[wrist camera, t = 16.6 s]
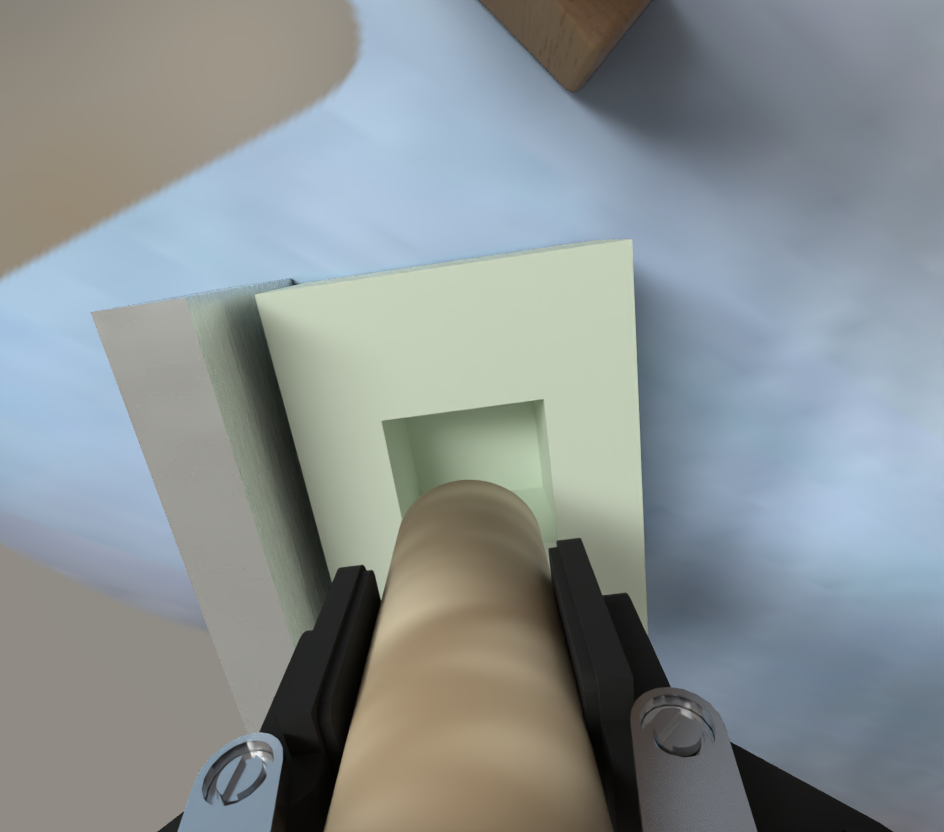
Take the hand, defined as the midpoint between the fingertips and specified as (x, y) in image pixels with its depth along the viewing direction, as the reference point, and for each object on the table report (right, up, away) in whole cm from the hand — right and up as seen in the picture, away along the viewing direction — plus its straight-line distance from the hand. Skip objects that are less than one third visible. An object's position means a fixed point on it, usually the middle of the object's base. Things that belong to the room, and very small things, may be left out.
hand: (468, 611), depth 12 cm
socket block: (0, +4, +11) cm, 11 cm away
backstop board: (-7, +3, +11) cm, 14 cm away
